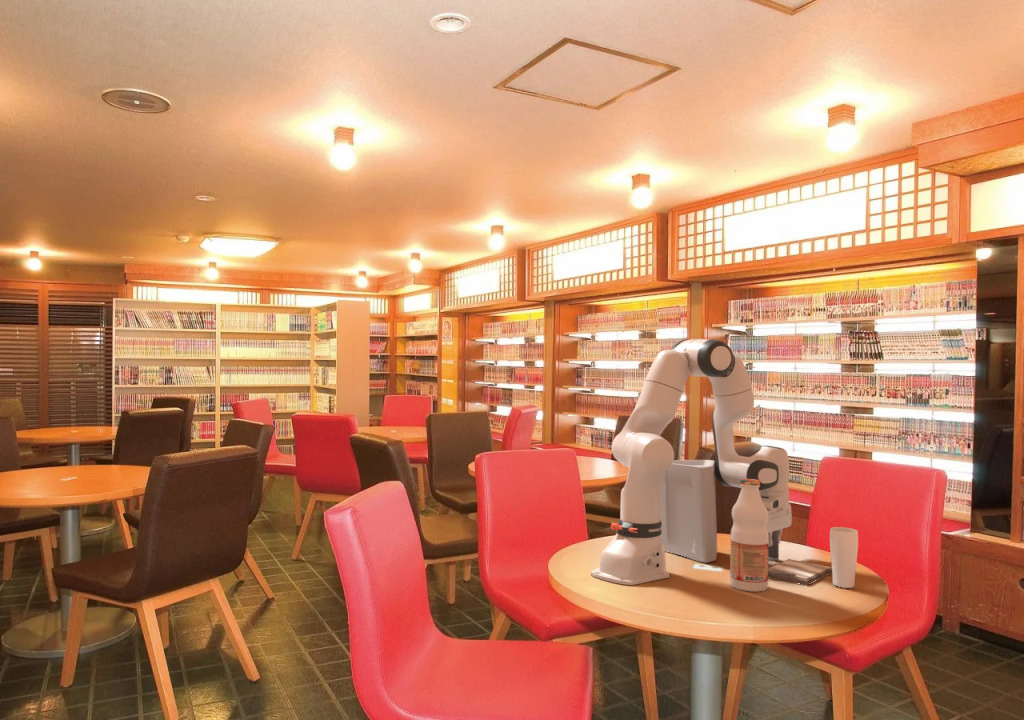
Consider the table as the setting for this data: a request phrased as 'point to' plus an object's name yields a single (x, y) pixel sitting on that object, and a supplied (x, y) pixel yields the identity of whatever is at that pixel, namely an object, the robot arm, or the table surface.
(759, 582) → the fruit juice
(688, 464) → the gray plastic bin
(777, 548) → the marker
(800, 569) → the dark grey notebook
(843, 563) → the drinking glass
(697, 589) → the table surface
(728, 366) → the robot arm
